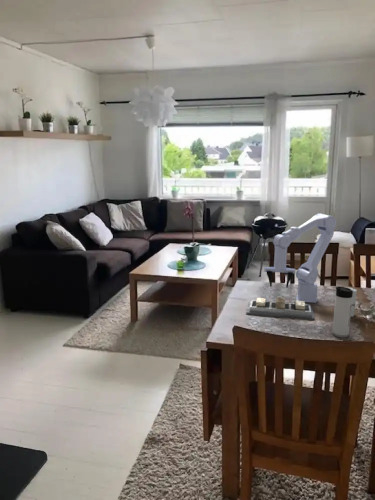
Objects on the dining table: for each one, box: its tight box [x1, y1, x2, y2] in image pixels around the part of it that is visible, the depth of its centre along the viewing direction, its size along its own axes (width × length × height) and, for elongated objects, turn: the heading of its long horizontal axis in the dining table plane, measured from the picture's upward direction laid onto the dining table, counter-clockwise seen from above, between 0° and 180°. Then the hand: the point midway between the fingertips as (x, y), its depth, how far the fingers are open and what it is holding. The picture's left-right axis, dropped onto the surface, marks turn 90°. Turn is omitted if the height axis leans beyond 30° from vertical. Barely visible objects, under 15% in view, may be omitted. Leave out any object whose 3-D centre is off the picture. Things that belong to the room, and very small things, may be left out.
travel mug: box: [331, 286, 353, 339], centre depth 165 cm, size 6×7×20 cm
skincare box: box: [348, 287, 358, 317], centre depth 187 cm, size 6×4×12 cm
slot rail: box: [245, 297, 316, 321], centre depth 191 cm, size 30×13×5 cm, turn 77°
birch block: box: [275, 296, 286, 309], centre depth 191 cm, size 4×6×5 cm, turn 168°
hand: (278, 286), depth 201 cm, fingers open, 7 cm apart
